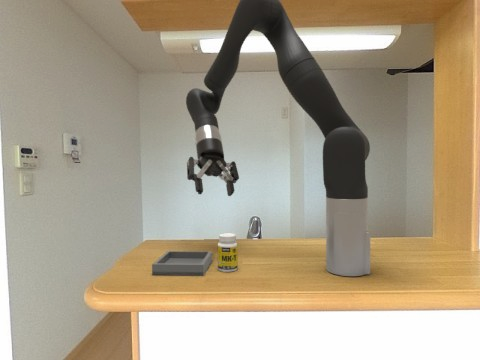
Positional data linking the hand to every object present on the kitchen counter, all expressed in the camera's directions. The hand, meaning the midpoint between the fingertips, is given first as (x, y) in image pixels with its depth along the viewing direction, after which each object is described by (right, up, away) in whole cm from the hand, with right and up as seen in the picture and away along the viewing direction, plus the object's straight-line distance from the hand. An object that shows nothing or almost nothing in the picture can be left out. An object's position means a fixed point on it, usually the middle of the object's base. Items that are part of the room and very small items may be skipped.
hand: (216, 193), depth 90 cm
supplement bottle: (+3, -18, -8) cm, 20 cm away
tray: (-7, -18, -6) cm, 20 cm away
